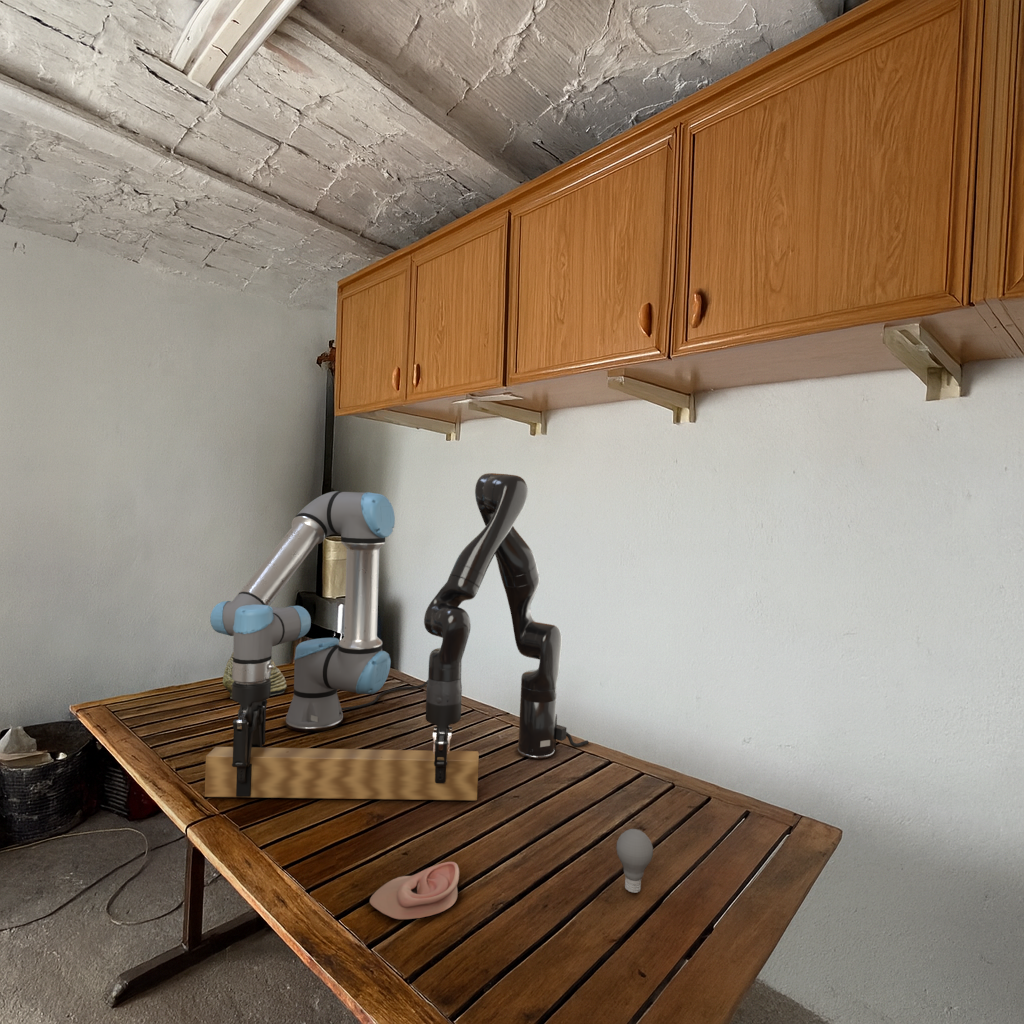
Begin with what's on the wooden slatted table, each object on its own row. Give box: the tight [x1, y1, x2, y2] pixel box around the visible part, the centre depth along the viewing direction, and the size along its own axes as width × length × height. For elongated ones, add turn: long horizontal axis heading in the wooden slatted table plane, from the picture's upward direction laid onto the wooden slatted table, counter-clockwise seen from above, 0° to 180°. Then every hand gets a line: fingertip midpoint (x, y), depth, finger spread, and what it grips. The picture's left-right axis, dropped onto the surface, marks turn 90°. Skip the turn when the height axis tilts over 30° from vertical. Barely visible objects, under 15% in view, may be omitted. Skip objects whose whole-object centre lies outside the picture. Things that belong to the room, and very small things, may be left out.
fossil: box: [222, 652, 288, 699], centre depth 198 cm, size 9×18×15 cm, turn 132°
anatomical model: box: [369, 861, 460, 920], centre depth 101 cm, size 13×4×12 cm
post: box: [204, 746, 480, 801], centre depth 134 cm, size 56×5×8 cm, turn 93°
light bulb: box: [615, 828, 654, 894], centre depth 106 cm, size 6×6×10 cm
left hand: (248, 789), depth 133 cm, fingers closed on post, 5 cm apart
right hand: (440, 776), depth 136 cm, fingers closed on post, 5 cm apart
